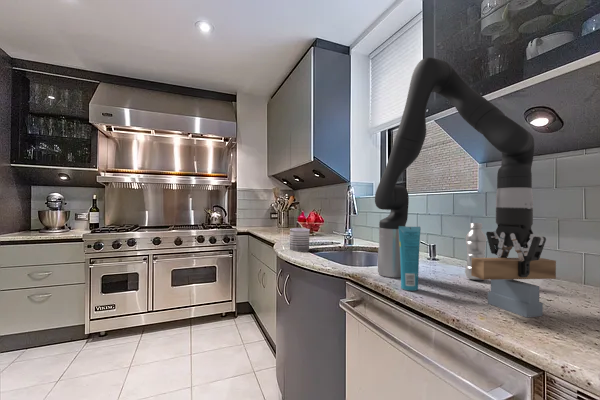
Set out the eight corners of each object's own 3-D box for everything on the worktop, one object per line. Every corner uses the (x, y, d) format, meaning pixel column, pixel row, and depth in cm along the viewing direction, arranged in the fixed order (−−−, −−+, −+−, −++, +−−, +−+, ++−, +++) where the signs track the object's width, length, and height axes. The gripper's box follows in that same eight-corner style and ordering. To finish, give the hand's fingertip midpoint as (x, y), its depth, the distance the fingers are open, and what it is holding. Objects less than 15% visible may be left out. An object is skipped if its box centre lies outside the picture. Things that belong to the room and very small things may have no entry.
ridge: (487, 303, 76) (487, 276, 76) (502, 301, 77) (502, 275, 77) (526, 317, 66) (526, 287, 66) (542, 315, 68) (542, 285, 68)
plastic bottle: (488, 280, 101) (489, 223, 101) (483, 283, 96) (483, 224, 97) (468, 276, 106) (468, 222, 106) (462, 279, 101) (462, 222, 101)
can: (310, 248, 168) (310, 228, 168) (308, 251, 156) (308, 229, 157) (291, 248, 169) (291, 227, 169) (287, 250, 158) (288, 229, 158)
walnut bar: (471, 275, 72) (471, 257, 73) (540, 274, 75) (540, 257, 75) (483, 279, 69) (483, 260, 69) (555, 278, 71) (555, 260, 71)
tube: (413, 286, 91) (414, 225, 92) (424, 290, 87) (425, 226, 87) (394, 287, 89) (394, 225, 89) (404, 292, 84) (404, 226, 85)
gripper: (477, 205, 78) (477, 268, 78) (532, 206, 64) (531, 282, 64) (498, 206, 80) (498, 267, 80) (556, 206, 66) (556, 281, 66)
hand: (513, 274), depth 72 cm, fingers closed on walnut bar, 4 cm apart
